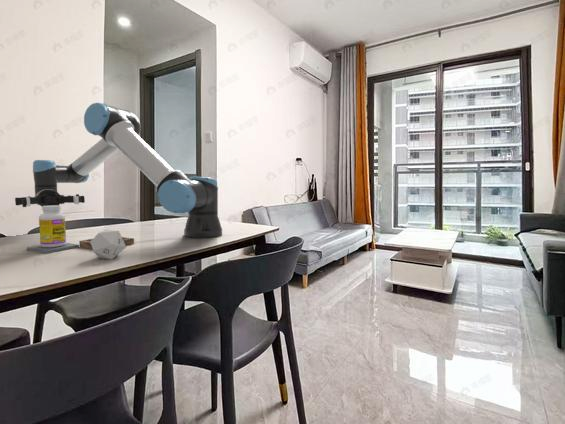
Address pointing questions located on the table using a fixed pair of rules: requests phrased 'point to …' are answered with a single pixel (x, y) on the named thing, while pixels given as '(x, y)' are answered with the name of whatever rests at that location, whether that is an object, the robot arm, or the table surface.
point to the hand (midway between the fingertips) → (54, 201)
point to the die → (107, 244)
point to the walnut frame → (88, 245)
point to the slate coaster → (53, 249)
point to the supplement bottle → (52, 227)
